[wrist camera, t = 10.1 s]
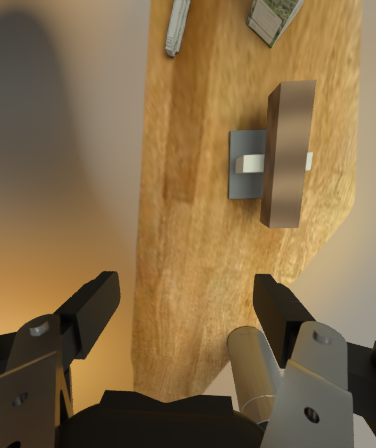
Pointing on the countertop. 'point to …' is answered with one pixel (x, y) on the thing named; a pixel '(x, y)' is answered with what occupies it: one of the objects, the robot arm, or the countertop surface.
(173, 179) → the countertop surface
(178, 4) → the light grey flat bar
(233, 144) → the board
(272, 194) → the walnut bar
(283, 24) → the syrup box
